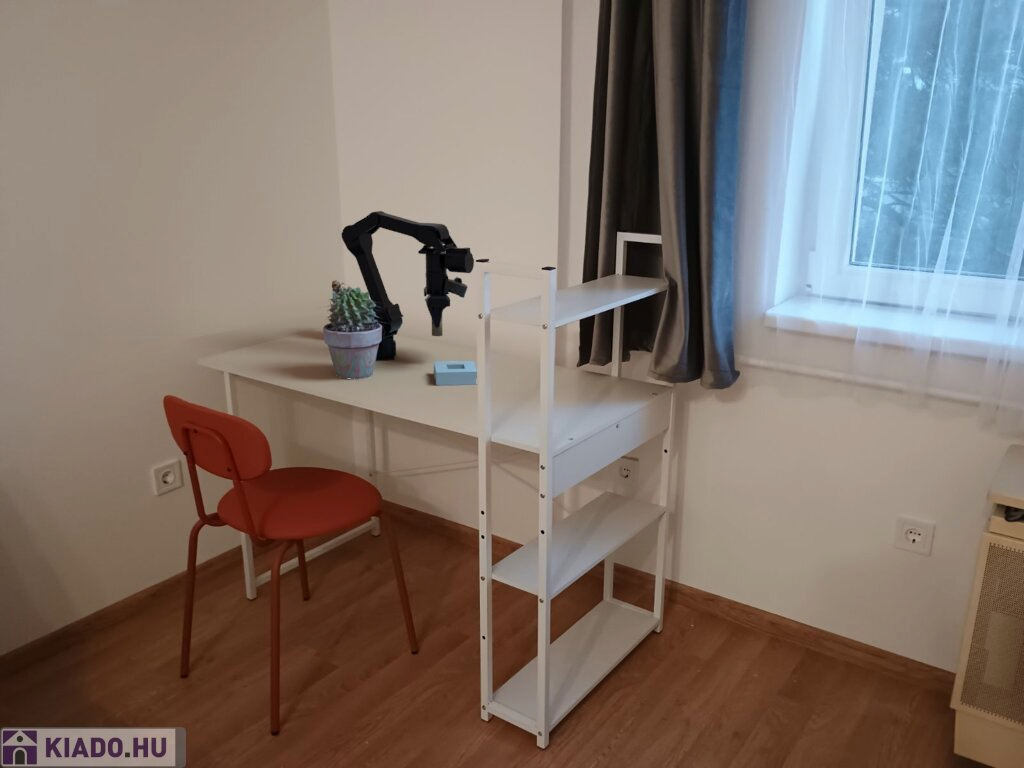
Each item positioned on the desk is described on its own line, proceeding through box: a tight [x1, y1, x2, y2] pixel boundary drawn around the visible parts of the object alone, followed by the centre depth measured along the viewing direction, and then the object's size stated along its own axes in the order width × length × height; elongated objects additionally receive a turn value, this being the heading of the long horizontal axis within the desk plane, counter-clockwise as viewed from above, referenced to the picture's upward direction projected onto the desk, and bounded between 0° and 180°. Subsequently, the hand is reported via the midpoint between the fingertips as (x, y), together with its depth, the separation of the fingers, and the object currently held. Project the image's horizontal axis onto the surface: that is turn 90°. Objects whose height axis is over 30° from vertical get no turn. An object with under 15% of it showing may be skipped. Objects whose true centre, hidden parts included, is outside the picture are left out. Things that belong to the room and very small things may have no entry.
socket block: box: [433, 360, 478, 387], centre depth 236 cm, size 11×11×4 cm
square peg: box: [431, 316, 443, 337], centre depth 248 cm, size 3×3×9 cm
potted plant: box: [318, 280, 390, 380], centre depth 236 cm, size 18×20×25 cm
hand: (436, 326), depth 248 cm, fingers closed on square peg, 3 cm apart
